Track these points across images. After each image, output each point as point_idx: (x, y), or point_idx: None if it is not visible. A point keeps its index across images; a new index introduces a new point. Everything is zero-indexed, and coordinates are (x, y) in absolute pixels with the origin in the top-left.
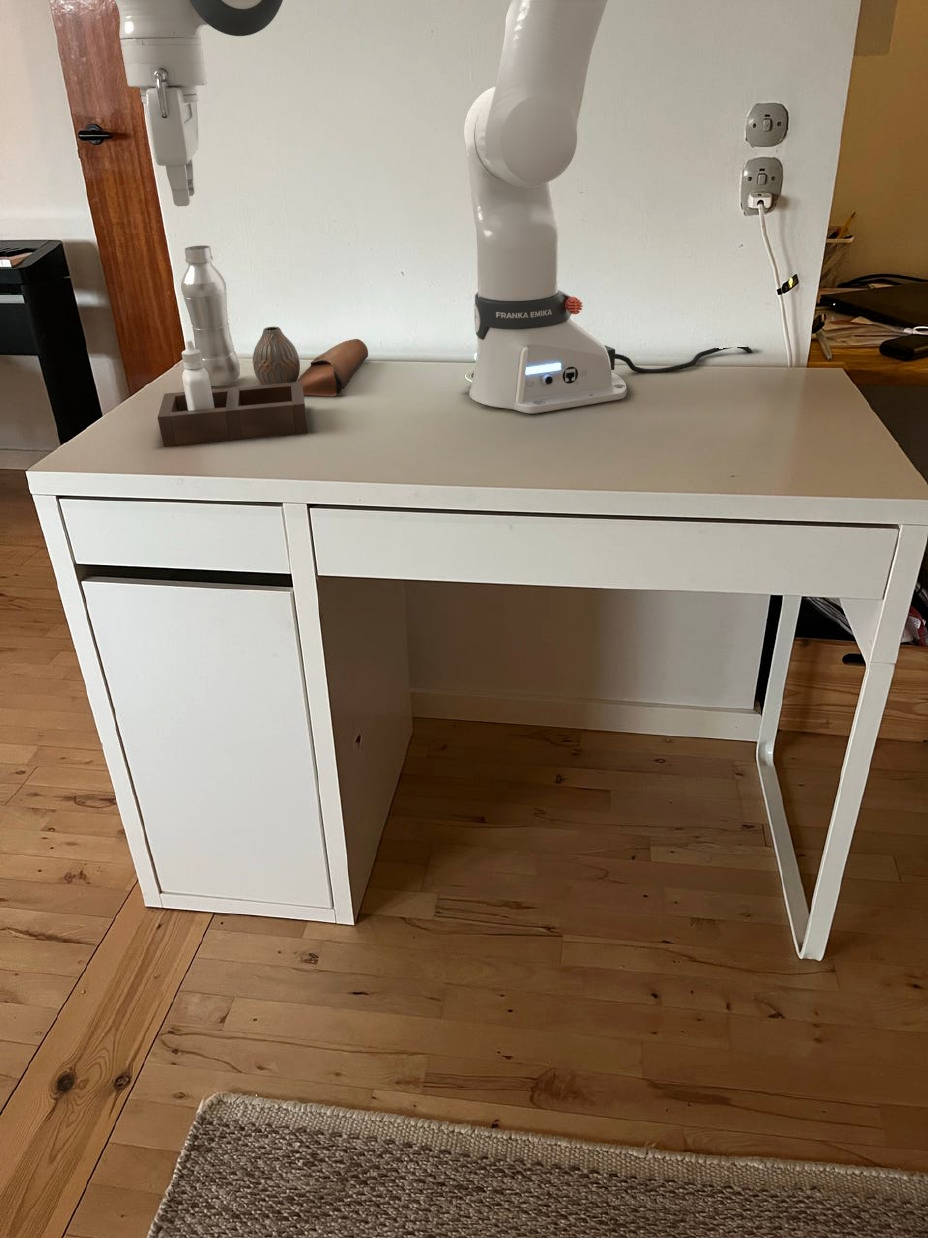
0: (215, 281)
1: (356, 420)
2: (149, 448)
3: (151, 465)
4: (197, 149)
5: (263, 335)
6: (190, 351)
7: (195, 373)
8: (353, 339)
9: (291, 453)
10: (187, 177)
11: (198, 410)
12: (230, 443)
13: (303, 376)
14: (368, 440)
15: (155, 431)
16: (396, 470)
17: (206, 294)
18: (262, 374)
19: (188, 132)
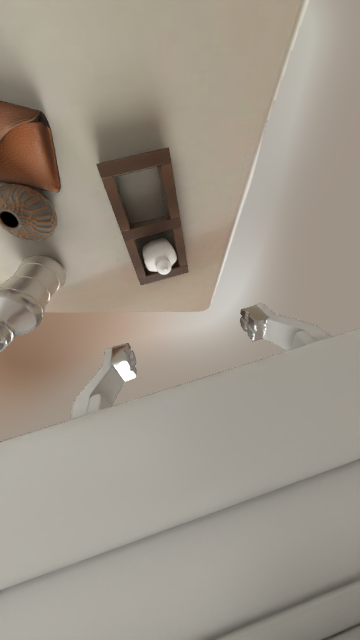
0: (11, 299)
1: (127, 87)
2: None
3: (211, 261)
4: (9, 440)
5: (25, 228)
6: (168, 266)
7: (170, 258)
8: None
9: (208, 161)
10: (114, 375)
11: (178, 248)
12: (182, 221)
13: (32, 177)
14: (187, 63)
15: None
16: (270, 15)
17: (33, 301)
18: (56, 224)
19: (341, 411)
